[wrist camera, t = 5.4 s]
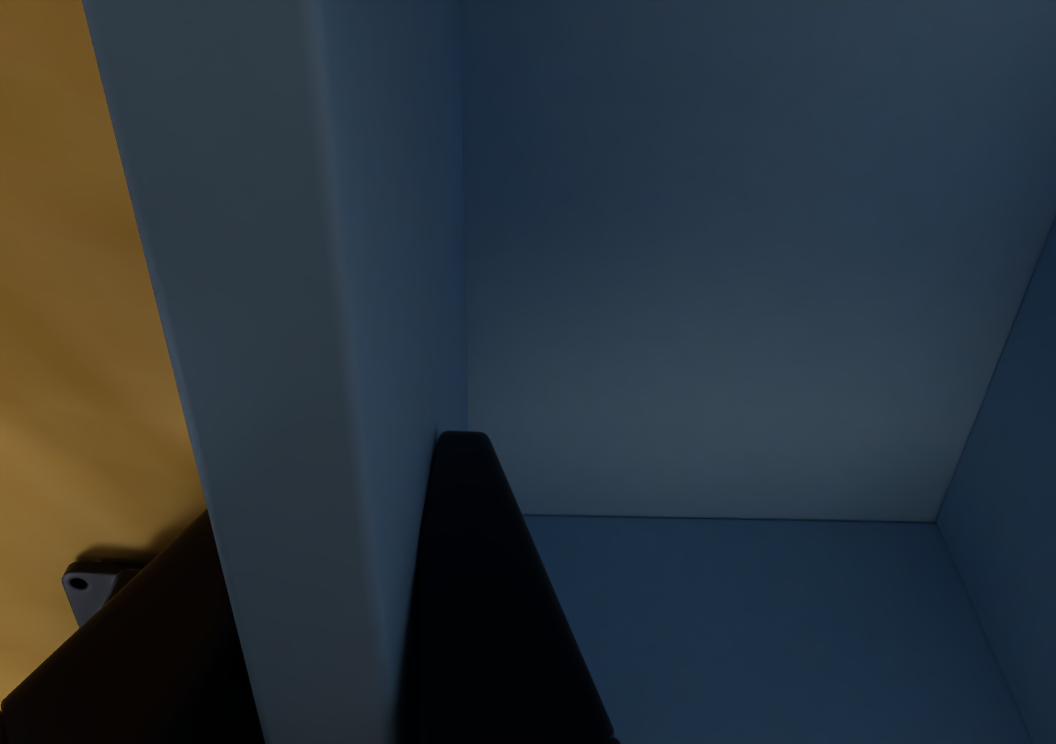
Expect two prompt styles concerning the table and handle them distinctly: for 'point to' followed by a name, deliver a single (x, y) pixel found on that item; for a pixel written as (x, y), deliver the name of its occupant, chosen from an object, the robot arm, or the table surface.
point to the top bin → (621, 341)
